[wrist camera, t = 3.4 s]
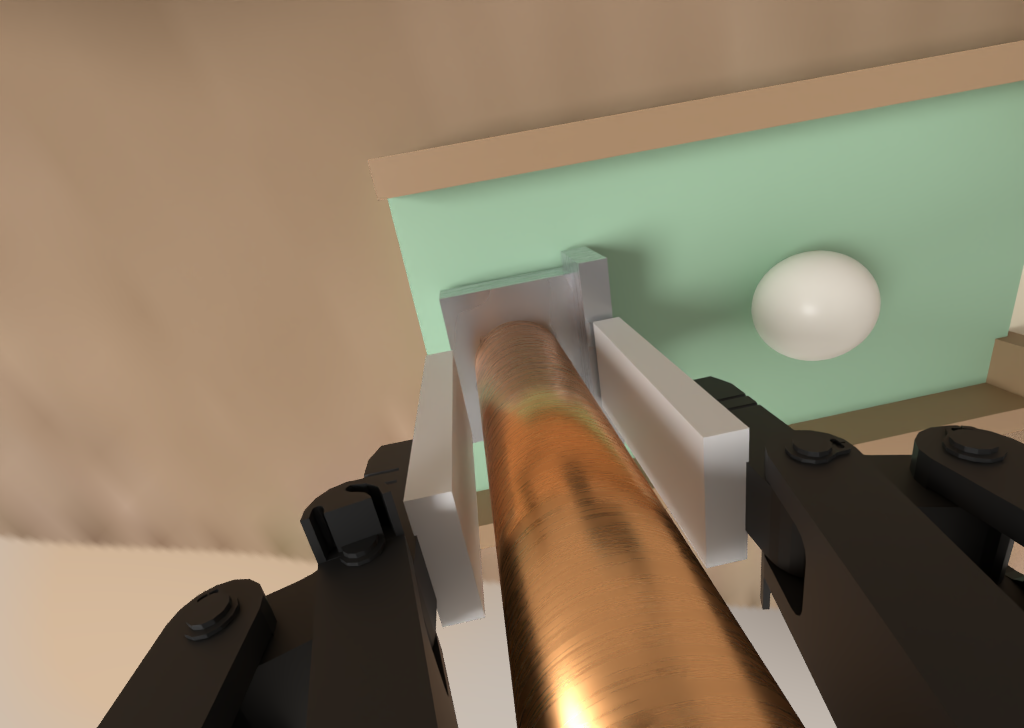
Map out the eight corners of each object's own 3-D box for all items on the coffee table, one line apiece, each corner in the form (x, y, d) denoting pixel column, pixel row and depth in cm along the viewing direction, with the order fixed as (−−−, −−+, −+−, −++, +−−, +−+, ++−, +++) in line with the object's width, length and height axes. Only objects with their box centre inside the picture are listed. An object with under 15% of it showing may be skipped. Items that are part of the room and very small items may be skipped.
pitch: (383, 163, 15) (363, 158, 12) (1198, 14, 16) (1393, -29, 13) (467, 496, 20) (470, 562, 17) (1091, 362, 21) (1213, 398, 18)
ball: (731, 254, 16) (799, 273, 13) (828, 234, 17) (920, 249, 13) (730, 349, 18) (793, 388, 14) (821, 330, 18) (903, 364, 15)
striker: (436, 275, 15) (370, 676, 3) (584, 246, 15) (1086, 509, 3) (474, 438, 17) (523, 1047, 5) (603, 410, 18) (941, 935, 5)
